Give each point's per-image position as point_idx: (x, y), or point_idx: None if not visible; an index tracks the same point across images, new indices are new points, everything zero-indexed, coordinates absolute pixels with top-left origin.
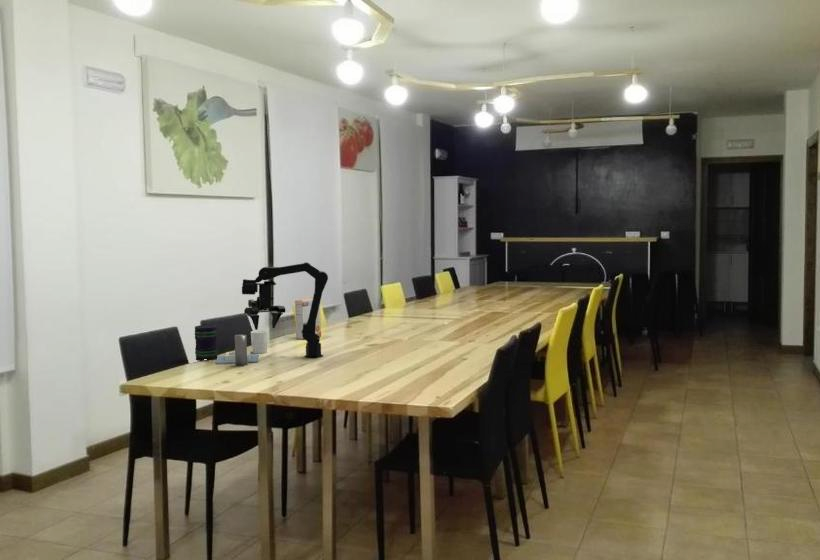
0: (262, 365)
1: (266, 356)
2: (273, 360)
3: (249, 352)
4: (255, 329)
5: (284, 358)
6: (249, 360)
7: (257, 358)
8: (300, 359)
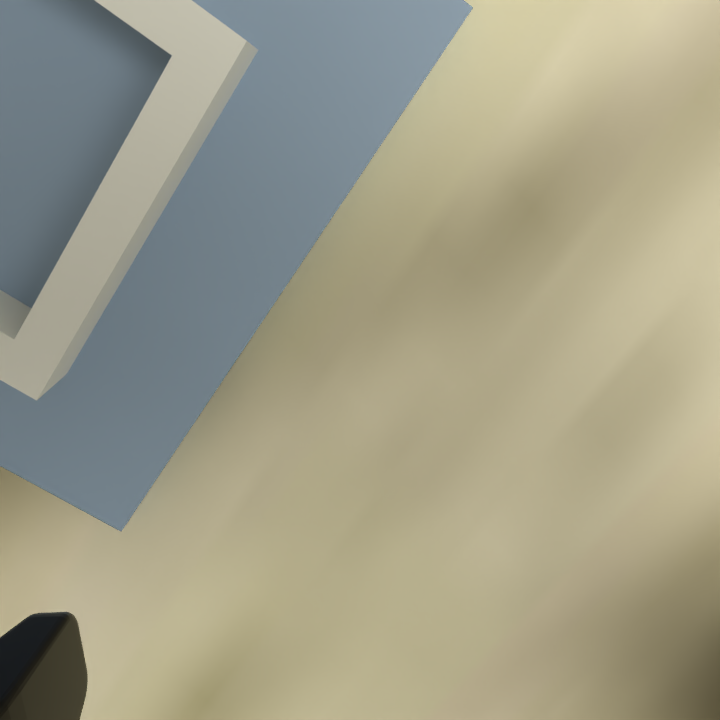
0: (88, 686)
1: (501, 191)
2: (368, 531)
3: (170, 160)
4: (32, 624)
5: (557, 519)
6: (40, 430)
7: (210, 381)
8: (629, 696)
